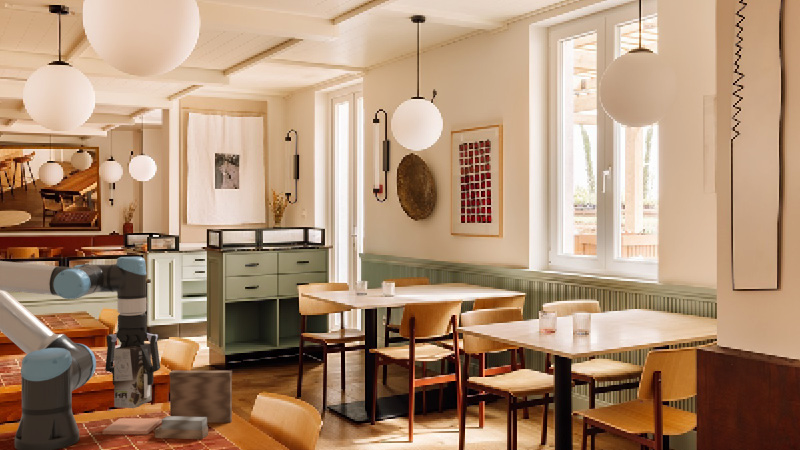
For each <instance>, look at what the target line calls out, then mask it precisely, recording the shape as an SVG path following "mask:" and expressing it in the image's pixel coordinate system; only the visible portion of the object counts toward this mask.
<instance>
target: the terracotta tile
mask: <svg viewBox="0 0 800 450" xmlns="http://www.w3.org/2000/svg"><path fill="white" fill-rule="evenodd" d="M162 419H163V418H159V417H158V418H155V417H154V418H152V417H151V418H147V417H146V418H136V417H135V418H131V417H129V418H127V417H126V418H122V417H121V418H120V417H119V418H118V419H117V420H115V421H114V422H112V423H111V424H109V425H108V426H107V427H105V428H104V429H103V430H102V435H149V433H151V432H152V431H154V430H155V429H156V428H157V427H159V426H160V425H161V424H162Z"/></svg>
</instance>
